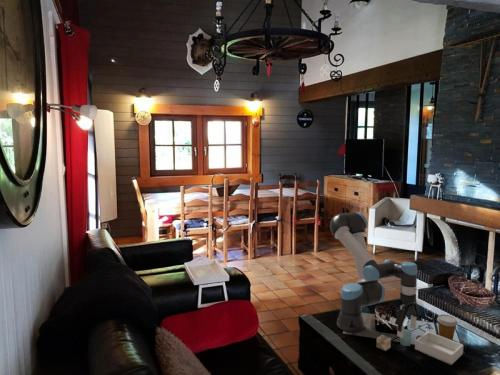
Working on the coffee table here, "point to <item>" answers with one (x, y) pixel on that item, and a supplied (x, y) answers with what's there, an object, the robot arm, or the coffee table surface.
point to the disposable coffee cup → (446, 326)
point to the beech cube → (383, 342)
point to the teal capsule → (406, 338)
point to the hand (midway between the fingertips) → (406, 332)
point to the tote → (439, 347)
